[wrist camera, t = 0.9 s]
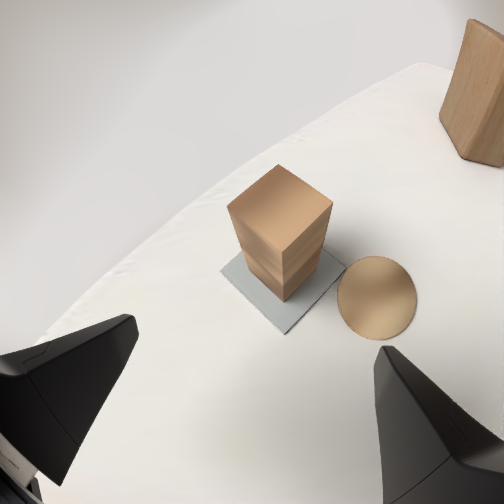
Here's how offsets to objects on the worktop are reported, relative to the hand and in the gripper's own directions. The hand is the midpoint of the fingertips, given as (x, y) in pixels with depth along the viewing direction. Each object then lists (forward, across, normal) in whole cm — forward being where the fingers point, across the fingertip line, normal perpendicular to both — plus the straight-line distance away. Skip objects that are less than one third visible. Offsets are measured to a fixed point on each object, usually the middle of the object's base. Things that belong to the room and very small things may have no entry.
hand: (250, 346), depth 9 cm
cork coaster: (+14, -9, +5) cm, 17 cm away
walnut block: (+15, 0, +4) cm, 15 cm away
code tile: (+15, 0, +4) cm, 16 cm away
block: (+32, -29, -13) cm, 45 cm away
